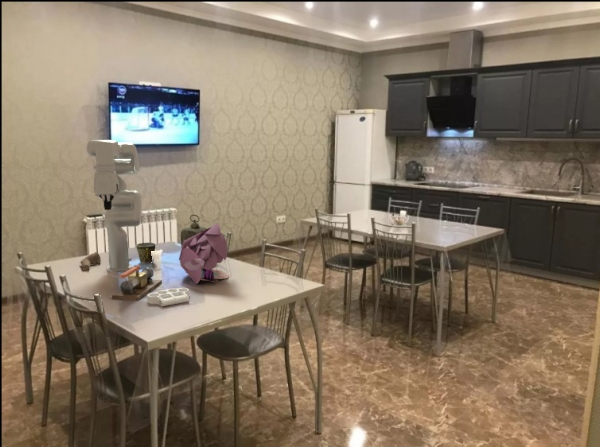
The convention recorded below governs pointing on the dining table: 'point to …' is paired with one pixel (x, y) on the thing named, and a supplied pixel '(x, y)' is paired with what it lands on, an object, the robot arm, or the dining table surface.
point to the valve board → (138, 291)
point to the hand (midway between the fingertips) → (108, 209)
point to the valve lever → (130, 271)
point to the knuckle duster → (169, 296)
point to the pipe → (90, 260)
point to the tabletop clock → (191, 230)
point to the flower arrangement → (204, 255)
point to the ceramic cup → (145, 252)
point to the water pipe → (136, 281)
